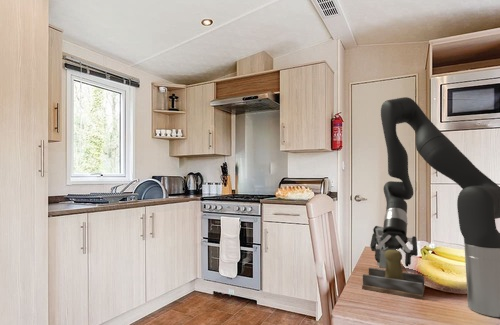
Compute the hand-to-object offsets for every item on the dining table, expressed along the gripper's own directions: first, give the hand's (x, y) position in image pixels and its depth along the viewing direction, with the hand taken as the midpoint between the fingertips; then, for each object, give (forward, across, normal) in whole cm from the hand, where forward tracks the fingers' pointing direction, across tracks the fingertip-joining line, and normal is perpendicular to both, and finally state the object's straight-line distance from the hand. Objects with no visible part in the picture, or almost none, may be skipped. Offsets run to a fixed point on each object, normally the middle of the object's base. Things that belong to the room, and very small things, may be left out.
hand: (392, 263), depth 97 cm
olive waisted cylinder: (+4, 0, +6) cm, 8 cm away
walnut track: (+5, 0, +7) cm, 8 cm away
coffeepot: (-14, -6, +26) cm, 30 cm away
